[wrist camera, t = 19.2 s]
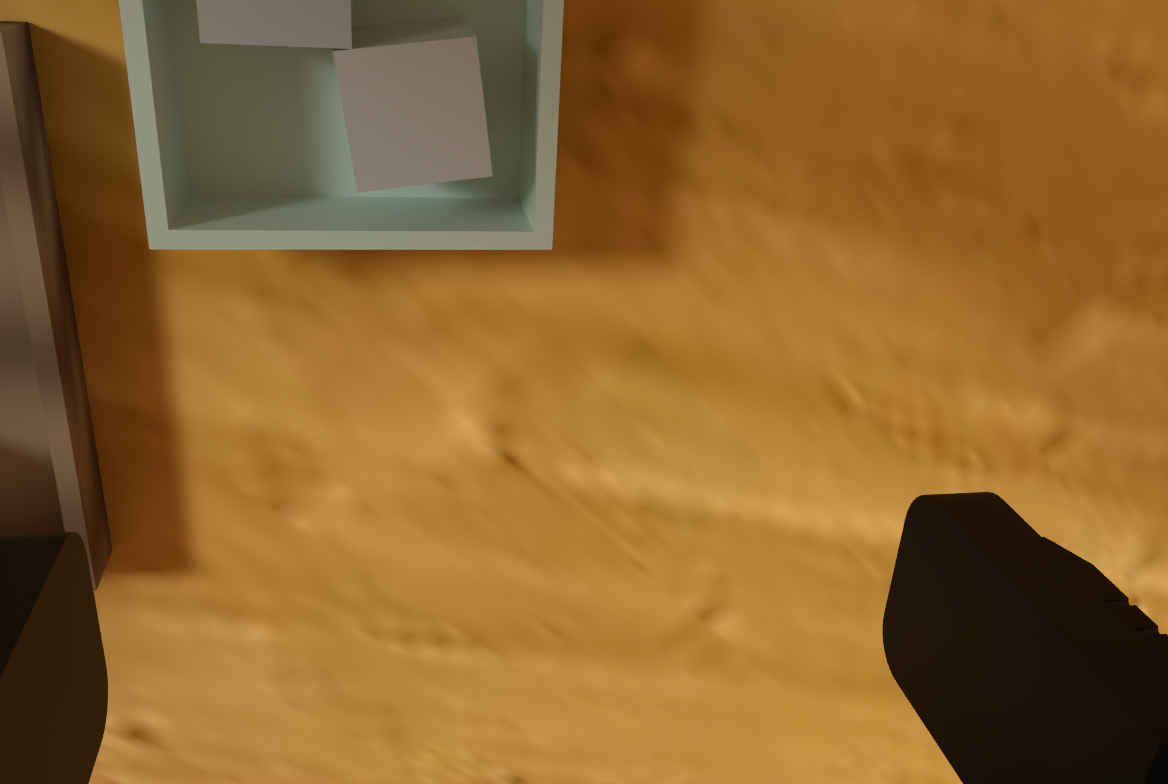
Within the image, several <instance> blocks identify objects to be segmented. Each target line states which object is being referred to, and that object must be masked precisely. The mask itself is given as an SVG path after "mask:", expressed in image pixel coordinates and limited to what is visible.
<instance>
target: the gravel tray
mask: <svg viewBox="0 0 1168 784" xmlns="http://www.w3.org/2000/svg"><path fill="white" fill-rule="evenodd" d="M58 532H77V533H78V534H79V535H80V536H81V538H82V540H83V542H84V545H85V548H86V552H87V557H88V563H89V569H90V574H91V580H92V586H93V591H96V590H97V588H98V585H99V583H100V580H101V577H102V575H103V572H104V570H105V567H106V565H107V562H108V560H109V557H110V554H111V552H112V547H111V540H110V534H109V528H108V522H107V515H106V509H105V503H104V496H103V490H102V484H101V478H100V471H99V465H98V459H97V452H96V446H95V440H94V434H93V427H92V421H91V415H90V408H89V402H88V396H87V390H86V383H85V377H84V371H83V364H82V358H81V352H80V346H79V339H78V333H77V327H76V320H75V314H74V308H73V302H72V295H71V289H70V283H69V276H68V270H67V264H66V258H65V251H64V245H63V239H62V233H61V226H60V220H59V214H58V207H57V201H56V195H55V189H54V182H53V176H52V170H51V163H50V157H49V151H48V145H47V138H46V132H45V126H44V119H43V113H42V107H41V101H40V94H39V88H38V82H37V75H36V69H35V63H34V57H33V50H32V44H31V38H30V31H29V25H28V22H12V21H0V535H14V534H36V533H58Z"/></svg>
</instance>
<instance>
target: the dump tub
mask: <svg viewBox="0 0 1168 784" xmlns="http://www.w3.org/2000/svg"><path fill="white" fill-rule="evenodd" d="M119 7H120V15H121V23H122V31H123V39H124V48H125V56H126V64H127V72H128V80H129V88H130V96H131V104H132V113H133V121H134V129H135V137H136V145H137V153H138V161H139V169H140V178H141V186H142V194H143V202H144V210H145V218H146V226H147V234H148V243H149V249H228V250H552V244H553V223H554V201H555V180H556V159H557V138H558V117H559V96H560V75H561V54H562V33H563V12H564V0H354V19H355V27H363V26H373V25H383V24H393V23H402V22H412V21H422V20H432V19H441V18H451V17H461V16H463V17H464V19H465V20H466V22H467V23H468V25H469V26H470V28H471V29H472V31H473V32H474V34H475V35H476V38H477V46H478V55H479V63H480V72H481V80H482V89H483V97H484V106H485V115H486V123H487V132H488V140H489V149H490V157H491V166H492V174H493V176H490V177H482V178H474V179H465V180H457V181H449V182H441V183H433V184H424V185H416V186H408V187H400V188H392V189H383V190H375V191H367V192H359V193H357V187H356V182H355V176H354V171H353V165H352V159H351V154H350V148H349V142H348V137H347V131H346V125H345V120H344V114H343V108H342V103H341V97H340V92H339V86H338V80H337V75H336V69H335V63H334V58H333V52H332V51H333V48H313V47H288V46H264V45H239V44H215V43H200V36H199V25H198V14H197V3H196V0H119Z"/></svg>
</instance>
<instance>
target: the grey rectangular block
mask: <svg viewBox="0 0 1168 784" xmlns="http://www.w3.org/2000/svg"><path fill="white" fill-rule="evenodd" d="M332 52H333V58H334V63H335V69H336V75H337V80H338V86H339V92H340V97H341V103H342V108H343V114H344V120H345V125H346V131H347V137H348V142H349V148H350V154H351V159H352V165H353V171H354V176H355V182H356V187H357V193H359V192H367V191H375V190H383V189H392V188H400V187H408V186H416V185H424V184H433V183H441V182H449V181H457V180H465V179H474V178H482V177H490V176H493V174H492V166H491V157H490V149H489V140H488V132H487V123H486V115H485V106H484V97H483V89H482V80H481V72H480V63H479V55H478V46H477V38H476V35H475V34H474V32H473V31H472V29H471V28H470V26H469V25H468V23H467V22H466V20H465V19H464V17H463V16H461V17H451V18H441V19H432V20H422V21H412V22H402V23H393V24H383V25H373V26H363V27H355V29H354V37H353V45H352V49H337V48H333V51H332Z"/></svg>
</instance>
